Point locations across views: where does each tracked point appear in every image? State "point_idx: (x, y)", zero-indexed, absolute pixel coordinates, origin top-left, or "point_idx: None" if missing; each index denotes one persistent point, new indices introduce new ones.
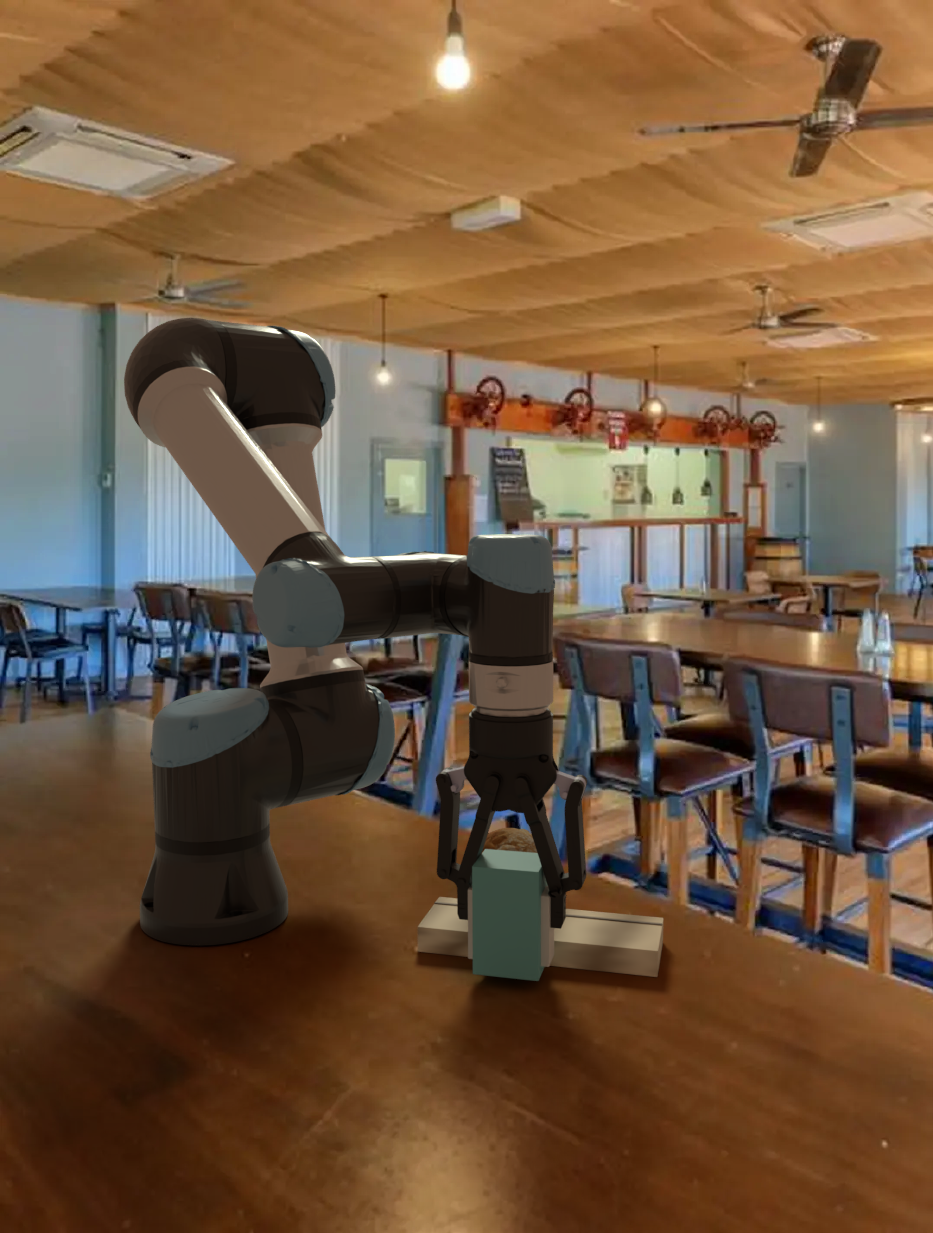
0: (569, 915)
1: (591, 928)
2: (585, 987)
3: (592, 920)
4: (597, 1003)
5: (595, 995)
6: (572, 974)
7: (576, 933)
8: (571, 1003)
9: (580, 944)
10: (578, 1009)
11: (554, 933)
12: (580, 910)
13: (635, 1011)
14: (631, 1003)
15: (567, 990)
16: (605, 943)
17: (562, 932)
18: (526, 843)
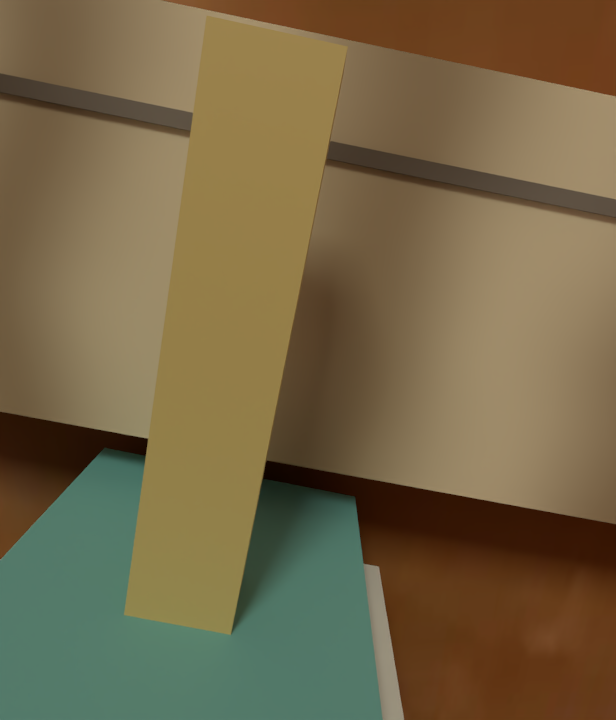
0: (493, 191)
1: (581, 343)
2: (469, 577)
3: (607, 237)
4: (491, 668)
5: (493, 624)
6: (436, 492)
7: (498, 405)
8: (412, 670)
9: (499, 501)
10: (429, 700)
11: (393, 409)
12: (567, 92)
13: (595, 705)
14: (595, 664)
15: (407, 598)
16: (612, 498)
17: (432, 393)
18: None
